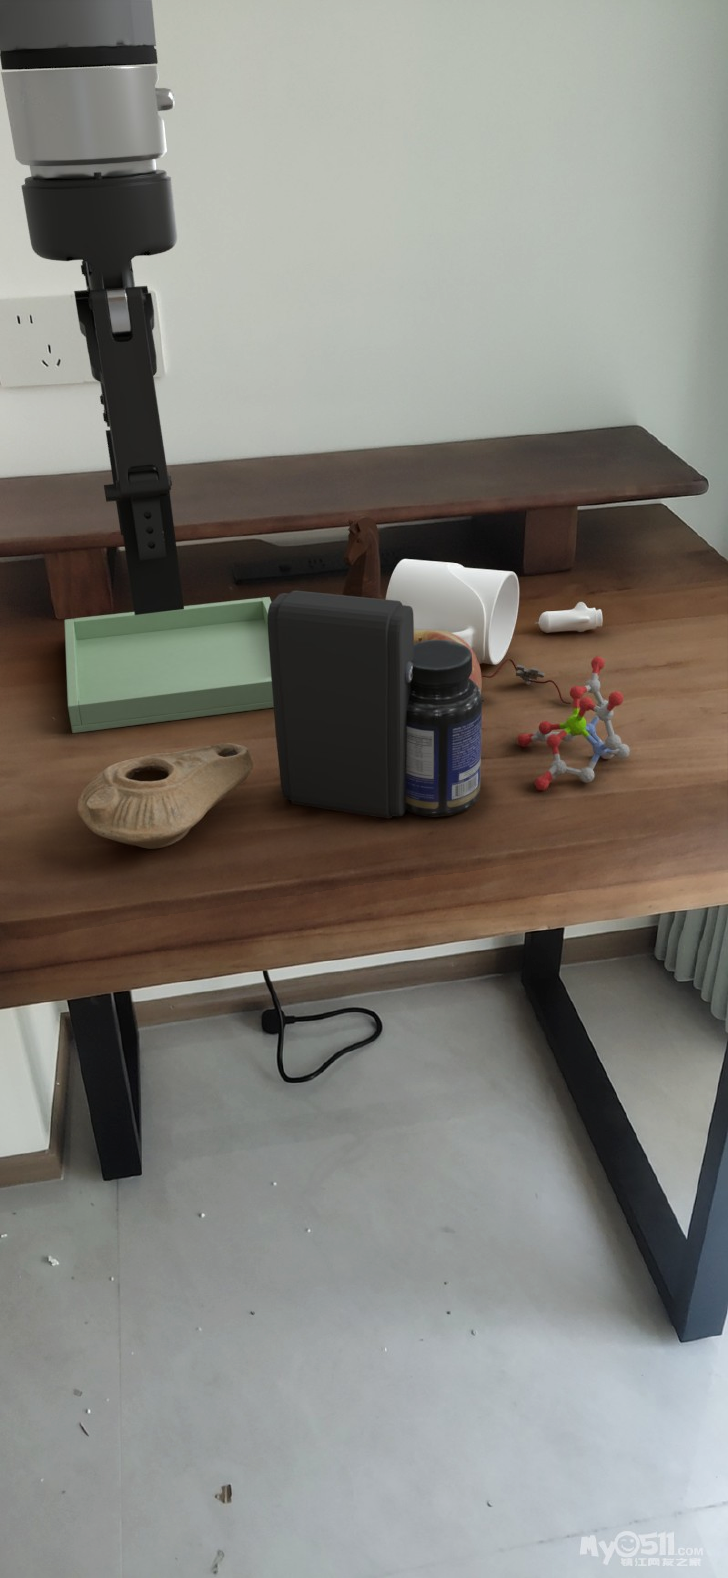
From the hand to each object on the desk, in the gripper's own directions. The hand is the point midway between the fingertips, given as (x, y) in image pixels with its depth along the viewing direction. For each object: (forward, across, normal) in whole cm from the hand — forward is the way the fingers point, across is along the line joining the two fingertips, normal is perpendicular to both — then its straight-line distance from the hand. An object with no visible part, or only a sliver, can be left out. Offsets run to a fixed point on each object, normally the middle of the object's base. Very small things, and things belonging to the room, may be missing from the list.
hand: (149, 568), depth 71 cm
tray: (+18, +25, -2) cm, 31 cm away
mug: (+19, +20, -24) cm, 37 cm away
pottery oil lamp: (+19, 0, 0) cm, 19 cm away
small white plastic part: (+19, +23, -37) cm, 48 cm away
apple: (+19, +8, -19) cm, 28 cm away
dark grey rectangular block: (+19, 0, -12) cm, 22 cm away
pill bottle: (+19, -1, -18) cm, 26 cm away
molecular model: (+19, +1, -28) cm, 34 cm away
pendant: (+17, +12, -28) cm, 35 cm away
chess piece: (+19, +31, -20) cm, 41 cm away
